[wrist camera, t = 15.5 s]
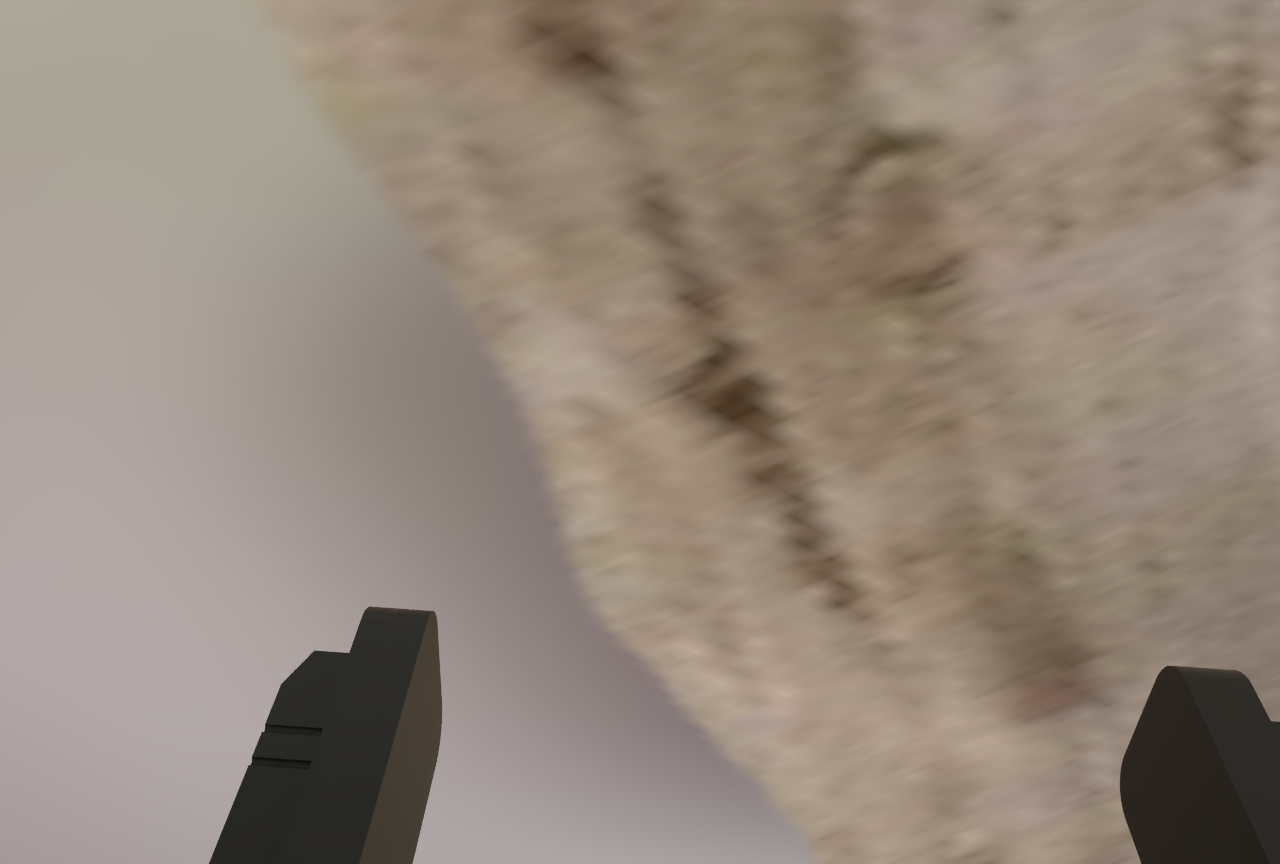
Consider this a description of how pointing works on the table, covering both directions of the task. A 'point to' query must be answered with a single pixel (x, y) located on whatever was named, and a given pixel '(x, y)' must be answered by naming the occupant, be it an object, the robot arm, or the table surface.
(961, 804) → the table surface
